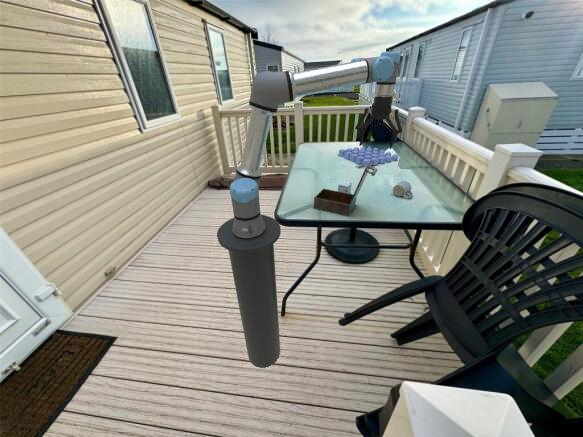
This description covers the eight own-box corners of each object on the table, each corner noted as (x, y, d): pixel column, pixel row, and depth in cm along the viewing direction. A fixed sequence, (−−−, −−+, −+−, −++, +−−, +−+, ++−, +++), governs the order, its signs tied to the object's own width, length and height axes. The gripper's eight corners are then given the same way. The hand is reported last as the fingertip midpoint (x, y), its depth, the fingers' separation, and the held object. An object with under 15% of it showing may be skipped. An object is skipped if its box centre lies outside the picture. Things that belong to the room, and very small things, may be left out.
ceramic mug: (390, 194, 144) (393, 182, 140) (397, 190, 149) (400, 178, 145) (407, 201, 138) (411, 188, 133) (414, 196, 142) (418, 184, 138)
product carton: (337, 195, 144) (338, 184, 140) (341, 191, 149) (342, 180, 145) (346, 198, 141) (348, 186, 137) (350, 194, 146) (352, 182, 142)
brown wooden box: (313, 207, 132) (314, 197, 129) (322, 198, 142) (323, 188, 139) (348, 216, 124) (349, 205, 121) (355, 205, 134) (356, 195, 131)
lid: (365, 168, 108) (375, 172, 107) (371, 160, 118) (381, 163, 117) (349, 204, 121) (358, 208, 120) (356, 194, 131) (364, 197, 129)
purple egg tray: (338, 155, 211) (338, 149, 208) (368, 150, 224) (369, 144, 222) (366, 167, 184) (367, 161, 182) (399, 160, 198) (400, 154, 195)
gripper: (416, 96, 101) (404, 147, 112) (356, 94, 110) (351, 142, 121) (415, 97, 95) (403, 151, 106) (352, 95, 105) (346, 145, 116)
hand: (375, 146), depth 114 cm, fingers open, 13 cm apart
